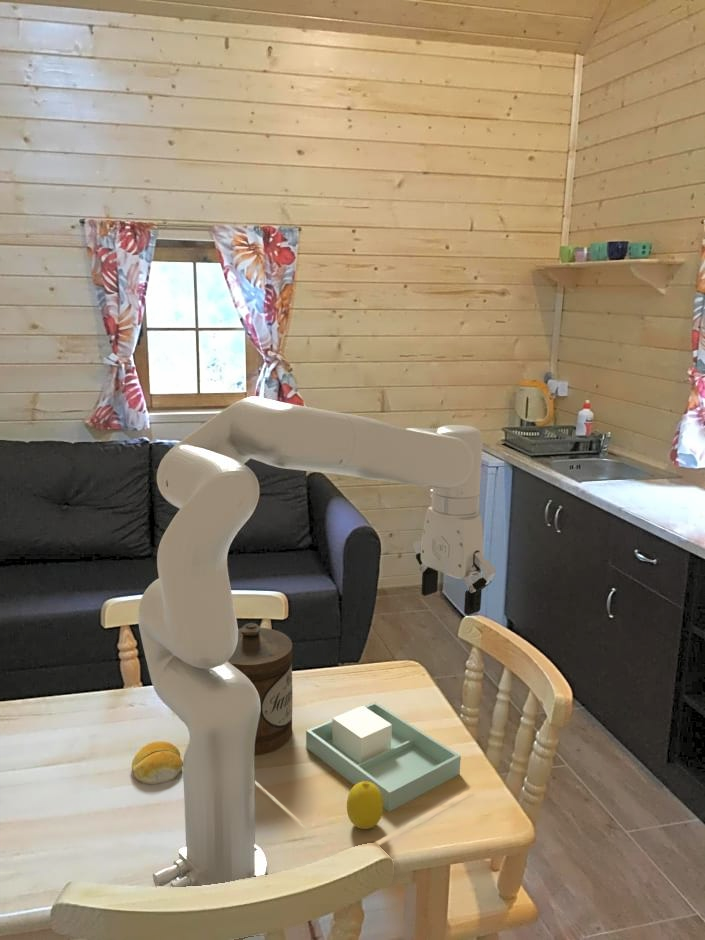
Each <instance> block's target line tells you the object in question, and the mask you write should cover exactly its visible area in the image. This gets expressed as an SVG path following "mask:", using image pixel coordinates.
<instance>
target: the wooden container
mask: <svg viewBox="0 0 705 940" xmlns="http://www.w3.org/2000/svg"><path fill="white" fill-rule="evenodd" d="M227 662H229V663H230V664H232V665H233V666H234V667H236V668H237V669H238V670H240V671H241V672H242V673H243V674H244V675H246V676H247V678H248V679H249V680H250V681H251V682H252V683H253V685H254V686H255V688H256V690H257V692H258V694H259V698H260V704H261V710H260V717H259V722H258V727H257V732H256V738H255V751H254V757H256V756H261V755H266V754H270V753H273V752H275V751H277V750H279V749H281V748H282V747H284V746H285V745H286V744H288V742H289V741H290V739H291V737H292V734H293V663H292V662H293V642H292V640H291V638H290V637H289V636H288V635H286V633H284V632H282V631H279V630H277V629H273V628H266V627H261V626H260V625H259V624H257V623H255V622H248V623H246V624H244V625H243V626H241V628H238V641H237V646H236V649H235V651H234V653H233V655H232V656H231V658H230V659H229V660H228V661H227Z"/></svg>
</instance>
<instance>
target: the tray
mask: <svg viewBox="0 0 705 940" xmlns="http://www.w3.org/2000/svg"><path fill="white" fill-rule="evenodd" d="M363 706H364V707H366V708H367V709H369V710H370V711H372V712H374V713H375V714H377V715H378V716H380V717H381V718H383V719H384V720H386V721H387V722H389V723H390V724H392V740H391V749H389V750H387V751H385V752H383V753H381V754H379V755H377V756H375V757H372V758H370V759H368V760H366V761H364V762H362V763H358V762H357V761H356V760H354V759H353V758H352V757H350V756H349V755H348V754H346V753H345V752H344V751H342V750H341V749H339V748H338V747H337V746H335V745H334V744H333V743H332V719H331V720H327V721H325V722H324V723H321V724H318V725H316V726H314V727H312V728H308V729H306V731H305V735H306V736H305V742H306V743H305V748H306V749H307V750H308V751H310V752H311V754H313V755H315V756H316V757H317V758H319V759H320V760H321V761H323V762H324V763H325V764H326V765H327V766H329V767H330V768H332V770H334V771H335V772H337V773H338V774H339V775H341V776H342V777H343V778H344V779H346V780H347V781H348V782H350V783H351V784H353V786H355V785H356V784H357V783H359V782H363V781H367V782H371V783H373V784H374V785H376V786H377V787H378V789H379V790H380V792H381V795H382V798H383V810H385V811H386V812H388V813H389V812H392V811H394V810H396V809H398V808H399V807H401V806H403V805H405V804H407V803H408V802H410V801H412V800H414V799H416V798H418V797H420V796H421V795H423V794H425V793H427V792H430V790H433V789H434V788H436V787H438V786H440V785H441V784H444V783H446V782H448V781H449V780H451V779H453V778H455V777H457V776H458V775H460V774H461V760H462V759H461V758H462V756H461V755H460V754H458V753H457V752H455V751H454V750H452V749H450V748H449V747H447V746H446V745H444V744H443V743H441V742H439V740H438V741H437V740H436V739H435V738H433V737H432V736H431V735H428V734H427V733H425V732H423V731H422V730H421V729H419V728H417V727H416V726H415V725H413V724H411V723H410V722H408V721H406V719H405V720H404V719H403V718H401V717H400V716H398V715H397V714H395V713H394V712H393V711H390V710H389V709H387V708H386V707H384V706H383V705H381V704H379V703H378V702H376V701H374V702H372V703H369V704H367V705H363Z"/></svg>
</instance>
